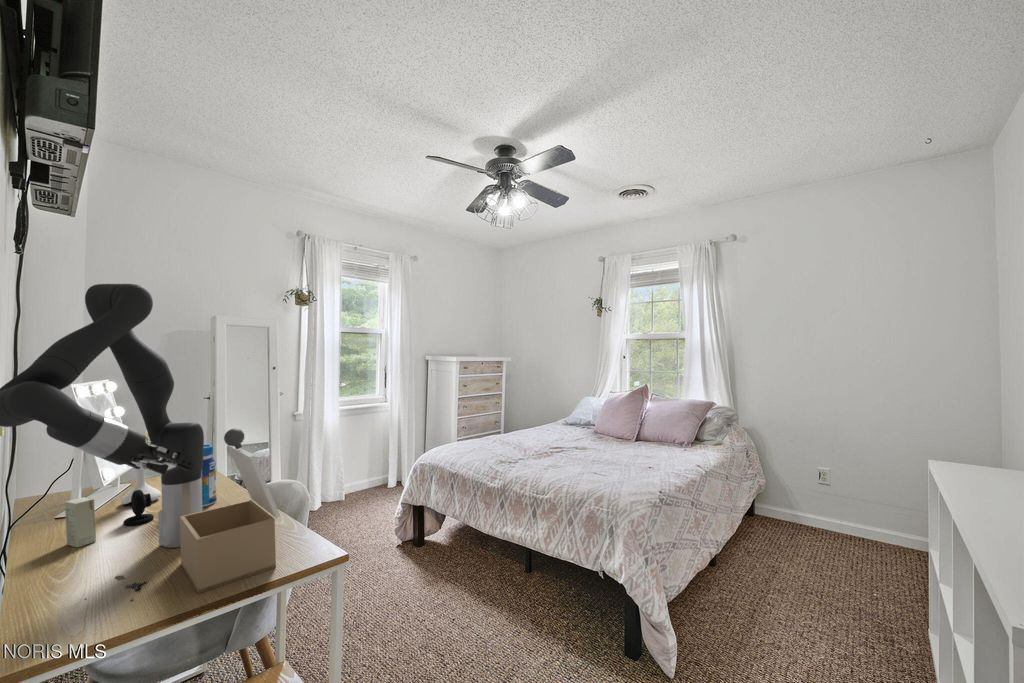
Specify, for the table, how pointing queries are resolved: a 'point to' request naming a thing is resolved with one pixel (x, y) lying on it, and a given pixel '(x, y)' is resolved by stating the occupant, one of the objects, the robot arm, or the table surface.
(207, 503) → the beverage bottle
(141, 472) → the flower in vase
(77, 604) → the table surface
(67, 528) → the skincare box
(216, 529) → the carton
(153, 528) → the table surface
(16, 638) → the table surface
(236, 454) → the white box lid
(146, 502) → the webcam
